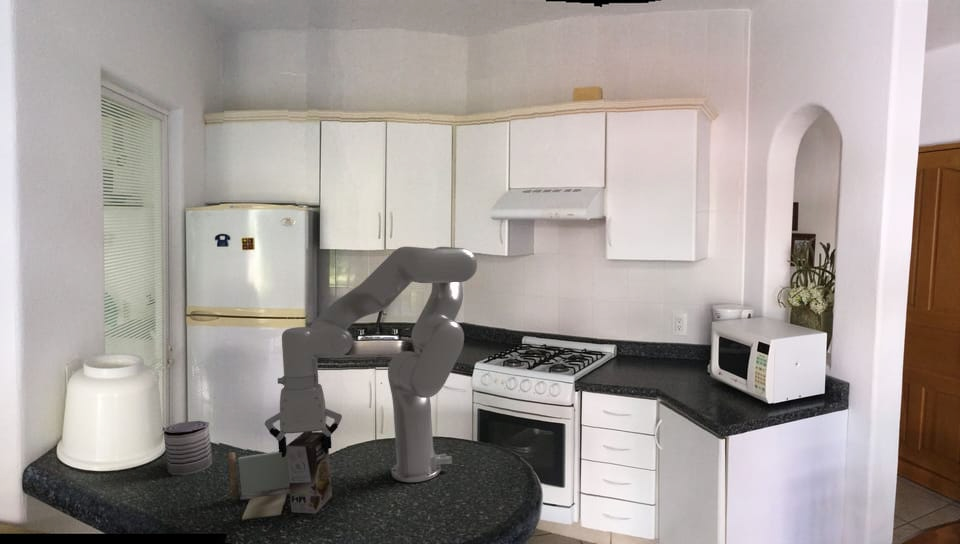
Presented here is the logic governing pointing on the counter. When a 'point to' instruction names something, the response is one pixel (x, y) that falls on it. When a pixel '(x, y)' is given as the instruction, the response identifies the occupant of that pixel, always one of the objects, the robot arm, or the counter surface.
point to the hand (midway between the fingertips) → (305, 453)
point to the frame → (235, 483)
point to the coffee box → (308, 473)
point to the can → (187, 447)
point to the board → (264, 506)
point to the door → (263, 472)
